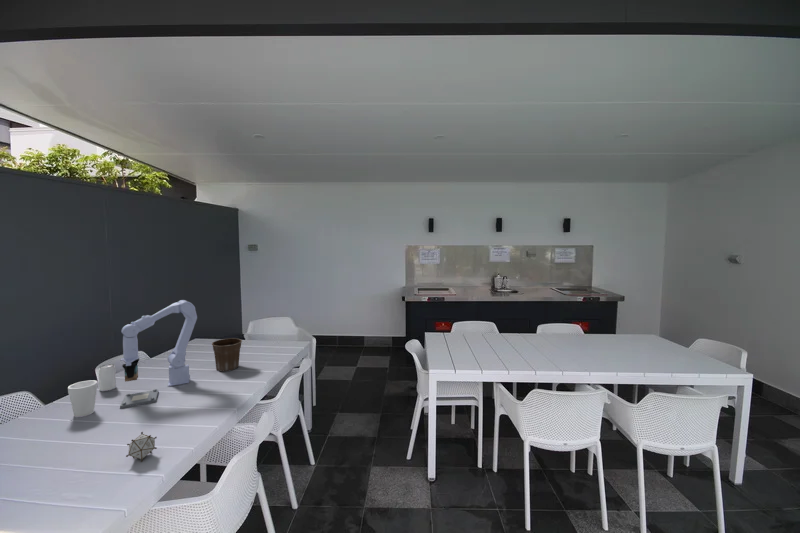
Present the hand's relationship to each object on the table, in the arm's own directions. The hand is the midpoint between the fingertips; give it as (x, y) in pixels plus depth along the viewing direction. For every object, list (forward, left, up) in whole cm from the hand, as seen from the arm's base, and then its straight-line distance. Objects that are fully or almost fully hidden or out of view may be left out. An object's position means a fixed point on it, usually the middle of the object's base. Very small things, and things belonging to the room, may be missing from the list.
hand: (131, 375), depth 167 cm
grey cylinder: (+12, -13, -9) cm, 20 cm away
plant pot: (-43, -16, -9) cm, 47 cm away
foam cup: (+15, +15, -9) cm, 23 cm away
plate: (-4, +11, -9) cm, 15 cm away
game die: (-11, +66, -9) cm, 68 cm away
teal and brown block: (0, 0, -2) cm, 2 cm away
